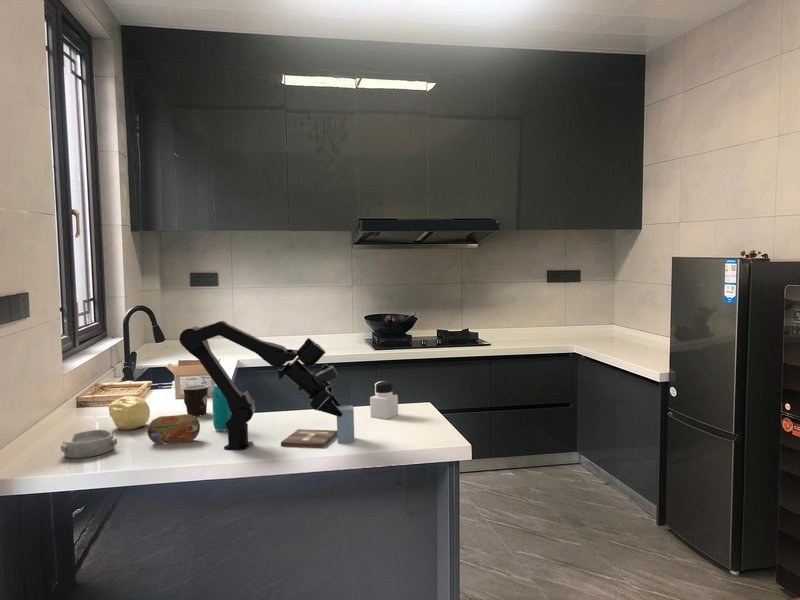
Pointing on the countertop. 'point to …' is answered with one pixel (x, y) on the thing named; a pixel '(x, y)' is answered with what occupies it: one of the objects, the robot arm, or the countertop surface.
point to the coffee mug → (196, 399)
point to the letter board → (309, 438)
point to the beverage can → (219, 409)
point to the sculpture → (129, 412)
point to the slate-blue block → (345, 425)
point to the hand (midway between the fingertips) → (341, 411)
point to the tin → (174, 429)
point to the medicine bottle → (383, 401)
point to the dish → (89, 444)
